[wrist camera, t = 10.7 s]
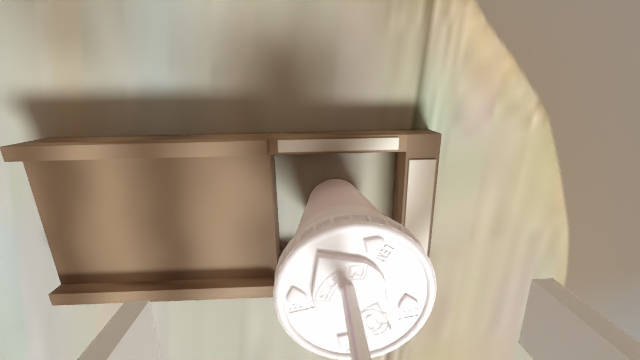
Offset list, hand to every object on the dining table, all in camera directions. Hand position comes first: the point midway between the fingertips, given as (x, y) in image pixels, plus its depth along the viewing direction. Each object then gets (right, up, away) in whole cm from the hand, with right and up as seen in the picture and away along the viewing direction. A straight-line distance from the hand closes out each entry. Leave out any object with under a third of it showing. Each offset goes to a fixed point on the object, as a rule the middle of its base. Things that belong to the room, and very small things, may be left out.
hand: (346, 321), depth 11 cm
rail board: (-6, +3, +10) cm, 12 cm away
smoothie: (0, +3, +10) cm, 11 cm away
